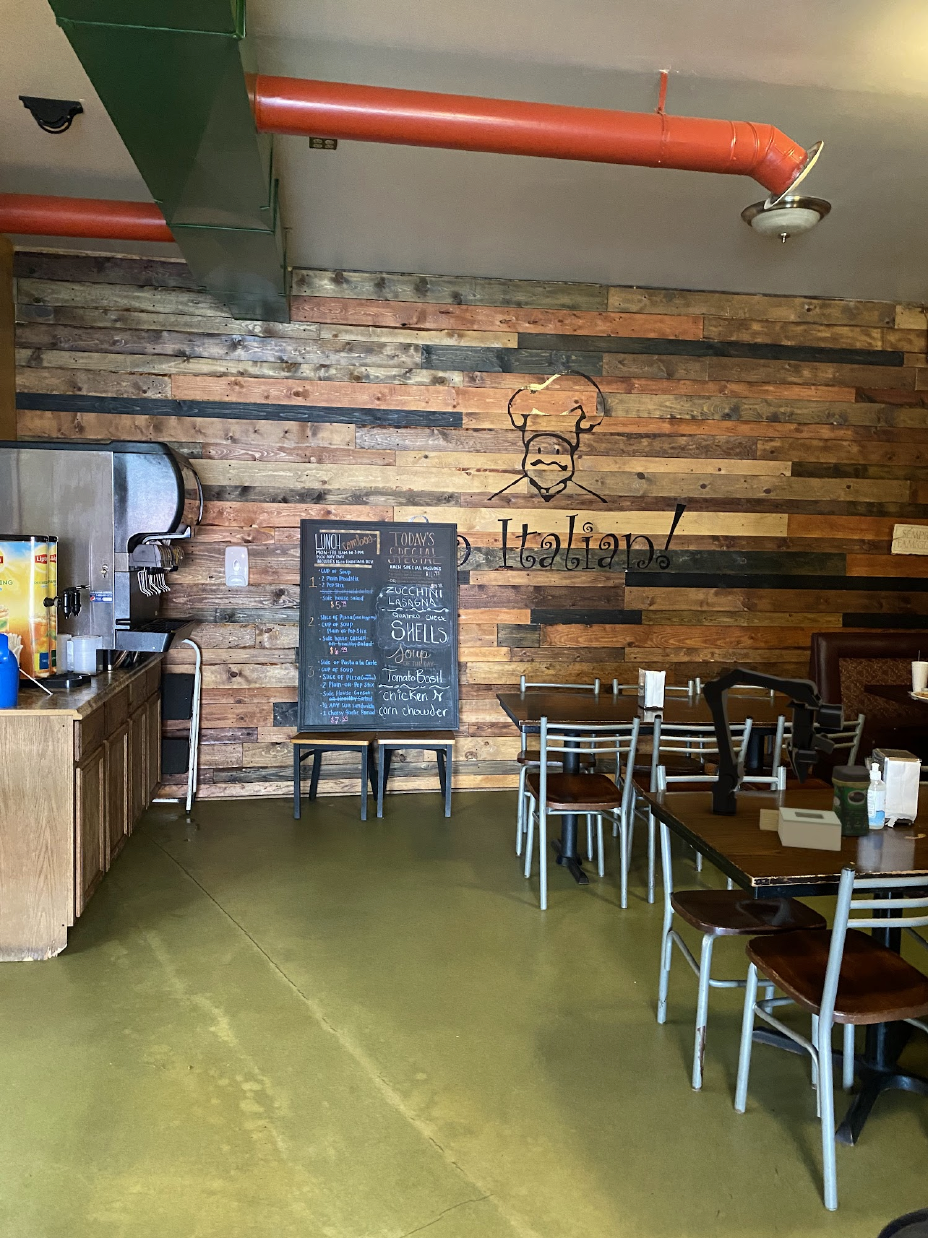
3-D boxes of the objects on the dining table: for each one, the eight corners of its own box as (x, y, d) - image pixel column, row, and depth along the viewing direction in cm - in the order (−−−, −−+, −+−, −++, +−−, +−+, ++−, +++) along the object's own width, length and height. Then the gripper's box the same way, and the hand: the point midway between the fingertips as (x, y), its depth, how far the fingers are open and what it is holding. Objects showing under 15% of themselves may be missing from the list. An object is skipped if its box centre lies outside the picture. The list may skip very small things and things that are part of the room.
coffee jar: (859, 828, 244) (862, 763, 243) (873, 837, 236) (876, 769, 235) (825, 828, 244) (828, 762, 243) (838, 836, 236) (840, 769, 235)
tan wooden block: (760, 829, 242) (761, 812, 242) (759, 826, 245) (760, 809, 244) (779, 831, 241) (780, 813, 240) (778, 828, 244) (779, 810, 243)
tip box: (782, 845, 228) (783, 819, 227) (778, 832, 239) (779, 807, 239) (840, 851, 224) (841, 824, 224) (832, 837, 236) (834, 811, 235)
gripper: (840, 733, 235) (836, 790, 236) (827, 721, 253) (823, 774, 254) (796, 730, 237) (792, 786, 238) (786, 718, 255) (783, 770, 256)
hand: (799, 779), depth 246 cm, fingers open, 9 cm apart
